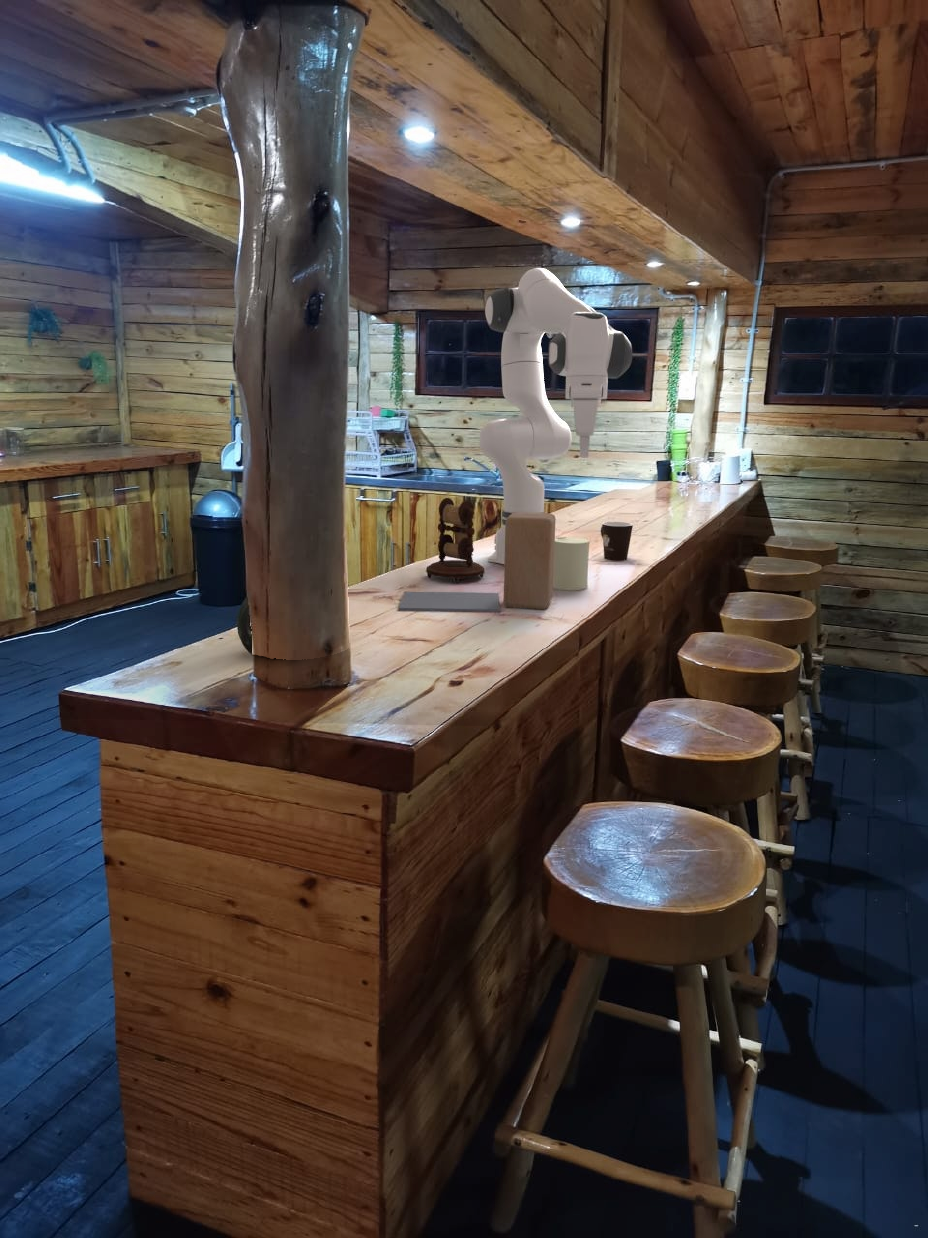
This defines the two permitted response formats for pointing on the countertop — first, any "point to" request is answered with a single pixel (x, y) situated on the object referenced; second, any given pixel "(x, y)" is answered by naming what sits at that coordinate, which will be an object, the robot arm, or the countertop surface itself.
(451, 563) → the wooden spool stand
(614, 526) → the coffee mug
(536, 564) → the block
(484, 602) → the mat
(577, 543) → the can
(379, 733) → the countertop surface
